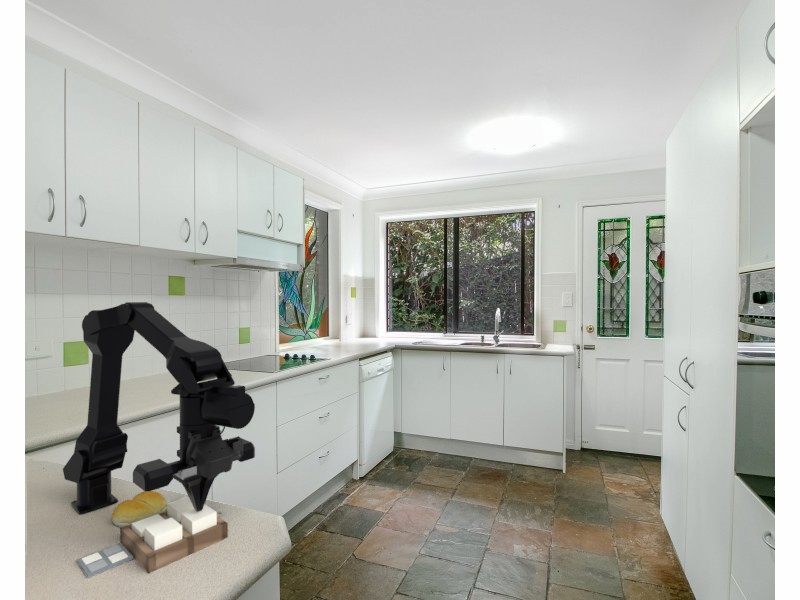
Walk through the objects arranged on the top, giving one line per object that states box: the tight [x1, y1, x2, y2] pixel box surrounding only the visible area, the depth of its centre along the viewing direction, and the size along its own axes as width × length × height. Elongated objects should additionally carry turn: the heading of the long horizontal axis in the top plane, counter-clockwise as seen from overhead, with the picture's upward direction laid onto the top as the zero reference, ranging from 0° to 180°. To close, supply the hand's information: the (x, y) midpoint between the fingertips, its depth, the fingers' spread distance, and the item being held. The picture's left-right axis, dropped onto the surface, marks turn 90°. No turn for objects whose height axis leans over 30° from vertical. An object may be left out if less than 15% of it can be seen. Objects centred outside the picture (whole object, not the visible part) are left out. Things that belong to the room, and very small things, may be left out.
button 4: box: [181, 504, 218, 535], centre depth 74 cm, size 4×4×3 cm
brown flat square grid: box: [119, 510, 229, 574], centre depth 74 cm, size 13×13×2 cm
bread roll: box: [111, 490, 168, 528], centre depth 82 cm, size 8×9×4 cm
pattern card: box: [76, 542, 134, 579], centre depth 68 cm, size 6×6×1 cm
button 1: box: [132, 514, 165, 538], centre depth 73 cm, size 4×4×3 cm
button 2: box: [144, 517, 182, 551], centre depth 70 cm, size 4×4×3 cm
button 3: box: [166, 495, 194, 522], centre depth 78 cm, size 4×4×3 cm
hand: (198, 510), depth 74 cm, fingers closed
